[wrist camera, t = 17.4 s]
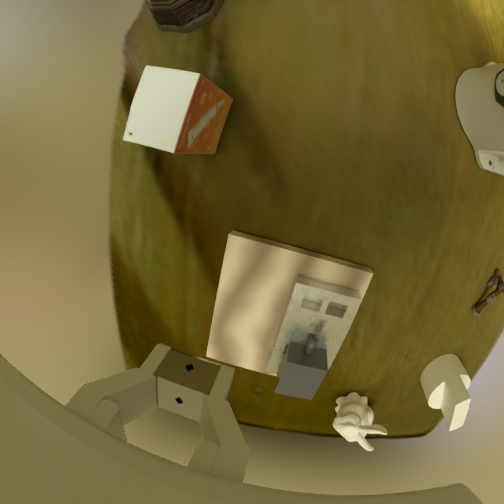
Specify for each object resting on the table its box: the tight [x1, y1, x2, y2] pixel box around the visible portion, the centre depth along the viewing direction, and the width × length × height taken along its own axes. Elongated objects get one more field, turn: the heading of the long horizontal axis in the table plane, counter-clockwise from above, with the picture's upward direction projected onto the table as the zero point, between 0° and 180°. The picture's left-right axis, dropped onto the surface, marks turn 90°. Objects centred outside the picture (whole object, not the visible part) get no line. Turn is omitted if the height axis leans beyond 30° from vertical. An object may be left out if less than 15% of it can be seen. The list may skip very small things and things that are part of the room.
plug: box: [274, 336, 328, 400], centre depth 37 cm, size 6×9×6 cm, turn 168°
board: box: [206, 230, 373, 376], centre depth 41 cm, size 20×22×2 cm
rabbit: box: [333, 392, 387, 451], centre depth 40 cm, size 12×9×12 cm
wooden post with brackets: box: [472, 269, 504, 316], centre depth 33 cm, size 2×8×5 cm, turn 160°
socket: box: [266, 275, 362, 374], centre depth 38 cm, size 9×16×2 cm, turn 167°
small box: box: [123, 65, 233, 154], centre depth 28 cm, size 8×6×13 cm
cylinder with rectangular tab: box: [420, 354, 471, 431], centre depth 35 cm, size 9×9×12 cm
